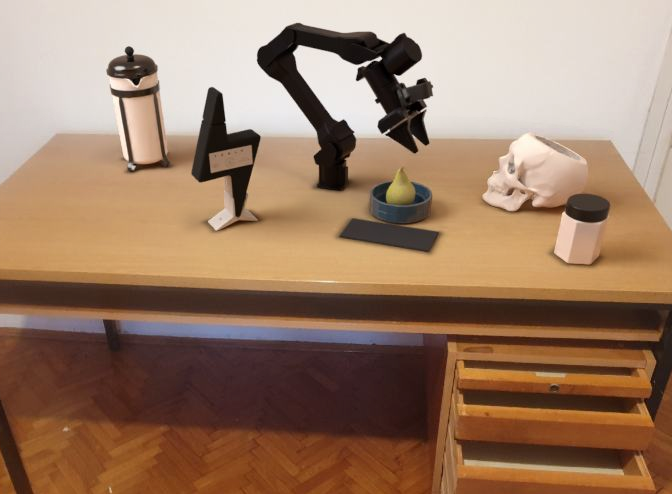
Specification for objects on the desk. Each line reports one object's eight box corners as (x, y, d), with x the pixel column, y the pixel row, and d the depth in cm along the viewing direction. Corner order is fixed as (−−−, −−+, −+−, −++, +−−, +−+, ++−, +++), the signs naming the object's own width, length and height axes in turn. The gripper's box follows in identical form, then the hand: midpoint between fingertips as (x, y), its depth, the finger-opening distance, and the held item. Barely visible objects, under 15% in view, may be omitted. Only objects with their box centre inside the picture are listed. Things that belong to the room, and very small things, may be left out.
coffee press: (188, 156, 194) (174, 42, 176) (148, 177, 183) (129, 57, 165) (141, 145, 202) (123, 34, 184) (101, 164, 191) (78, 48, 173)
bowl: (361, 219, 161) (362, 201, 158) (379, 194, 172) (380, 177, 169) (421, 228, 157) (423, 210, 154) (436, 202, 167) (438, 185, 164)
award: (205, 233, 157) (189, 98, 139) (196, 224, 161) (180, 91, 143) (266, 218, 163) (258, 86, 145) (256, 209, 166) (248, 79, 149)
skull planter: (473, 180, 172) (522, 113, 161) (541, 219, 175) (593, 156, 163) (474, 205, 161) (527, 135, 150) (546, 245, 164) (603, 180, 153)
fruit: (413, 202, 167) (417, 154, 159) (414, 216, 161) (418, 166, 153) (385, 202, 167) (388, 153, 160) (385, 216, 161) (388, 166, 154)
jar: (565, 241, 151) (577, 189, 143) (603, 252, 146) (617, 199, 139) (548, 257, 145) (559, 204, 138) (586, 269, 141) (600, 215, 134)
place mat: (339, 237, 154) (339, 235, 154) (352, 219, 161) (352, 218, 161) (428, 252, 148) (428, 250, 148) (438, 233, 155) (438, 231, 155)
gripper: (403, 69, 143) (442, 136, 145) (427, 61, 158) (462, 121, 160) (360, 100, 149) (398, 164, 151) (387, 90, 164) (422, 148, 166)
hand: (422, 148), depth 157 cm, fingers open, 9 cm apart
